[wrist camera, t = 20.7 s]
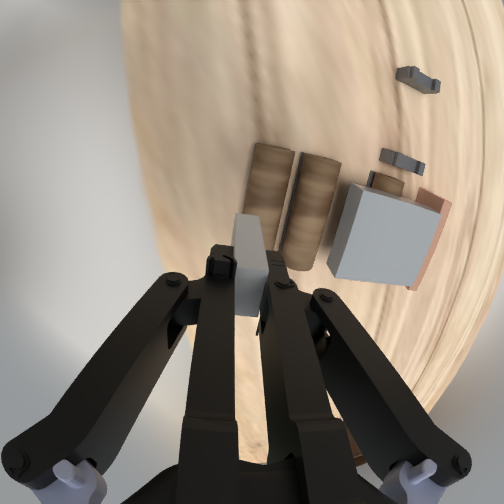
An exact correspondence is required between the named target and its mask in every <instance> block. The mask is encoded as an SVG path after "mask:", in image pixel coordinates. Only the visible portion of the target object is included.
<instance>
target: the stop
mask: <svg viewBox="0 0 504 504" xmlns="http://www.w3.org/2000/svg"><path fill="white" fill-rule="evenodd" d="M415 202H418V203H421V204H424V205H427V206H429V207H430V208H432V209H434V210H435V211H437V212H439V213H440V214H442V216H441V219H440V222H439V224H438V227H437V230H436V233H435V235H434V238H433V240H432V243H431V245H430V248H429V250H428V253H427V255H426V258H425V260H424V262H423V264H422V267H421V269H420V271H419V273H418V276H417V278H416V280H415V282H414V284H413V286H412V287H411V286H406V288H407V289H408V290H414V291H417V289H418V287H419V284H420V282H421V280H422V278H423V276H424V274H425V272H426V270H427V267H428V265H429V263H430V261H431V258H432V256H433V253H434V251H435V249H436V246H437V244H438V241H439V239H440V236H441V233H442V231H443V228H444V225H445V223H446V220H447V217H448V214H449V211H450V208H451V205H452V203H451V202H450V201H448V200H446V199H444V198H442V197H440V196H438V195H436V194H434V193H432V192H430V191H428V190H426V189H423V188H421V187H420V188H419V192H418V195H417V198H416V201H415Z"/></svg>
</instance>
